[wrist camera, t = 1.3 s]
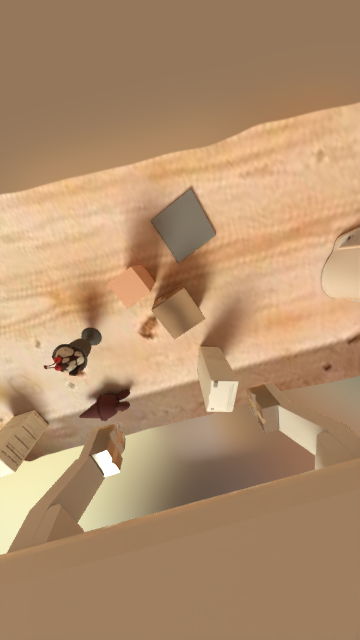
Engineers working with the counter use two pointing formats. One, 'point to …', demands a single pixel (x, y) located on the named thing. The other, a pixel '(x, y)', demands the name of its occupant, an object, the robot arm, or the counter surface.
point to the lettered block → (177, 311)
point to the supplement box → (19, 440)
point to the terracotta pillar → (132, 285)
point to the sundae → (75, 352)
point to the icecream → (107, 406)
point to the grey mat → (184, 226)
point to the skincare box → (216, 380)
